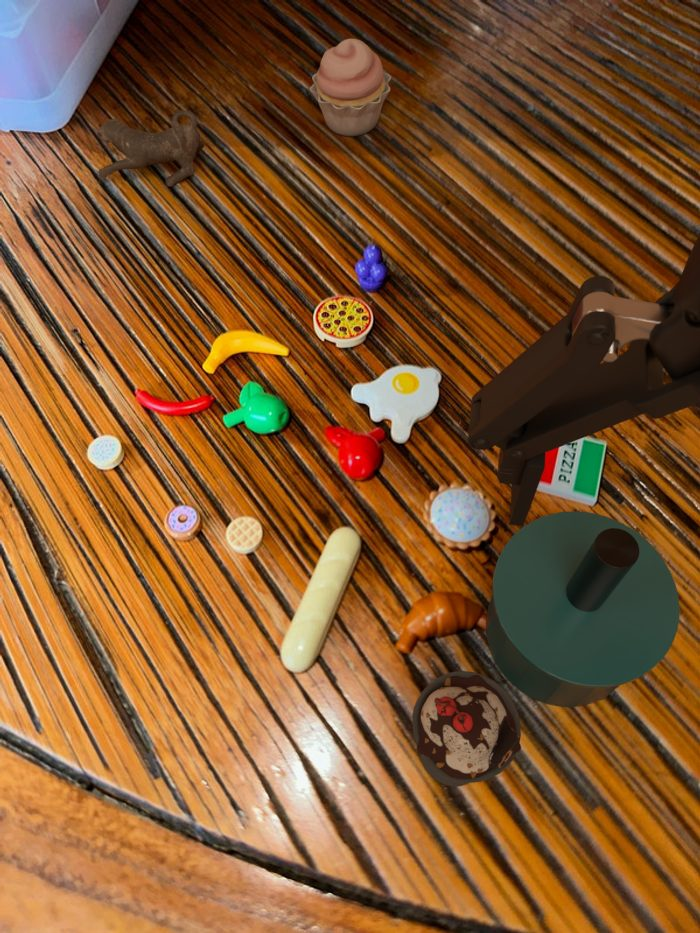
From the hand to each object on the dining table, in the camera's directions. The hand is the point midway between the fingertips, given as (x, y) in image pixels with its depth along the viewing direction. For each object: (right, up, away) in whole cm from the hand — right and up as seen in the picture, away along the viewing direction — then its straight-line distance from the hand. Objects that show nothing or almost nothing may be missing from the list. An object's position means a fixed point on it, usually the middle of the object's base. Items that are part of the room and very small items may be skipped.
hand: (645, 518), depth 41 cm
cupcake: (-16, +44, +50) cm, 68 cm away
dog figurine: (-38, +37, +47) cm, 71 cm away
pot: (+1, -10, +19) cm, 22 cm away
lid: (0, -6, +11) cm, 13 cm away
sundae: (-8, -18, +15) cm, 25 cm away
